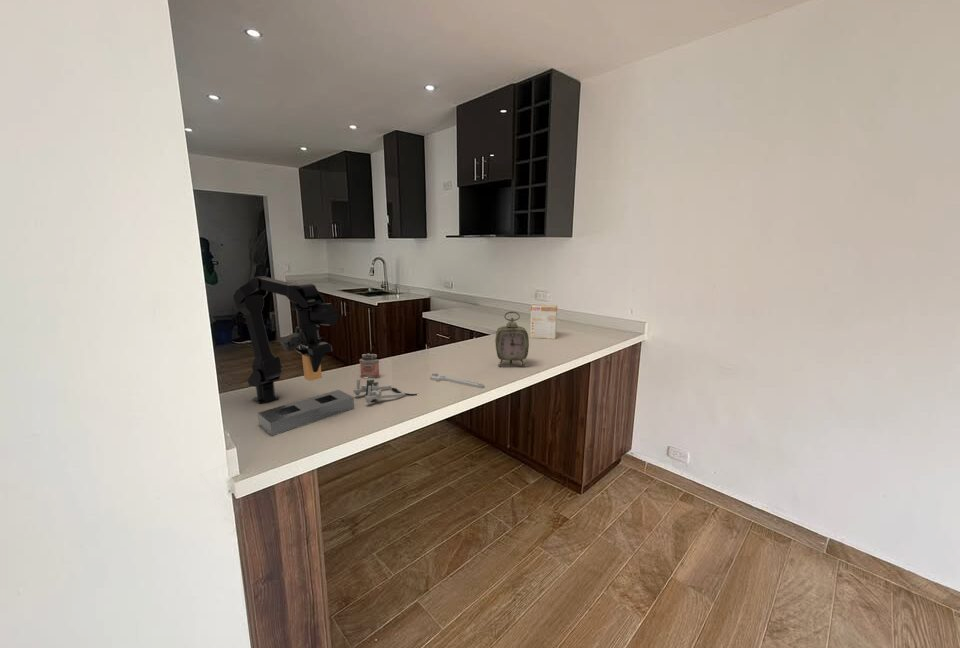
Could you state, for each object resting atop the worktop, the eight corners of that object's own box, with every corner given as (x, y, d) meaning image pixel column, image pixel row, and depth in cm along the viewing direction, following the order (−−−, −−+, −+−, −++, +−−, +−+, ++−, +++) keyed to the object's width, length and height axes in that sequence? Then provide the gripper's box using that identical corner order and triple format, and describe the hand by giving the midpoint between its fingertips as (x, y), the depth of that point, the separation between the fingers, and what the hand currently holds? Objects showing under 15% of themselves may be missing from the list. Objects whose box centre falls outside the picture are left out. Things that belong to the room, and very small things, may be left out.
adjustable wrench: (485, 387, 150) (485, 383, 149) (476, 393, 144) (476, 388, 144) (436, 375, 163) (436, 371, 163) (426, 379, 158) (426, 375, 158)
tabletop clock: (495, 368, 172) (496, 313, 167) (494, 362, 181) (495, 309, 176) (528, 368, 172) (529, 313, 167) (525, 362, 181) (526, 309, 176)
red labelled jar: (359, 378, 159) (357, 354, 157) (362, 375, 162) (361, 352, 160) (377, 378, 158) (376, 355, 156) (380, 376, 161) (379, 353, 159)
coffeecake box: (556, 336, 232) (557, 304, 229) (555, 339, 226) (556, 306, 222) (531, 335, 237) (532, 303, 233) (529, 337, 230) (530, 305, 226)
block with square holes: (259, 425, 117) (257, 412, 116) (339, 400, 136) (338, 389, 135) (271, 435, 110) (270, 422, 109) (354, 408, 129) (353, 397, 128)
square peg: (304, 378, 126) (301, 354, 125) (316, 375, 129) (314, 352, 127) (309, 380, 123) (307, 356, 122) (321, 377, 126) (319, 354, 125)
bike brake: (366, 407, 129) (418, 400, 142) (368, 387, 128) (420, 382, 141) (351, 395, 139) (400, 390, 152) (352, 377, 138) (402, 374, 151)
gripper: (269, 324, 123) (275, 370, 126) (293, 331, 111) (299, 383, 114) (304, 319, 131) (309, 363, 134) (330, 325, 119) (335, 374, 122)
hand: (312, 370), depth 126 cm, fingers closed on square peg, 4 cm apart
